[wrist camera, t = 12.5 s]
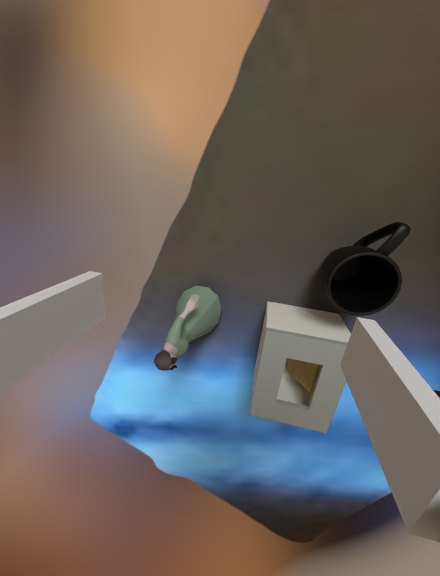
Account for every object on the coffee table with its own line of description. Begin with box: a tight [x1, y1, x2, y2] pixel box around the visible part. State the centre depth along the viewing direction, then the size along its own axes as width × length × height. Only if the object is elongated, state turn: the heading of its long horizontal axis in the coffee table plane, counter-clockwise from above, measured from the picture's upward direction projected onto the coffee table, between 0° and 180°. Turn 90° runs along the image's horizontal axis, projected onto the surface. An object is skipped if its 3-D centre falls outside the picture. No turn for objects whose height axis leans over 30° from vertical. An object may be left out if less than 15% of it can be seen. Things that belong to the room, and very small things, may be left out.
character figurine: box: [154, 286, 222, 370], centre depth 37 cm, size 16×8×18 cm, turn 158°
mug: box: [321, 222, 411, 316], centre depth 33 cm, size 8×12×10 cm
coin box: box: [250, 301, 351, 433], centre depth 40 cm, size 16×12×10 cm
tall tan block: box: [286, 358, 321, 393], centre depth 40 cm, size 6×3×6 cm
